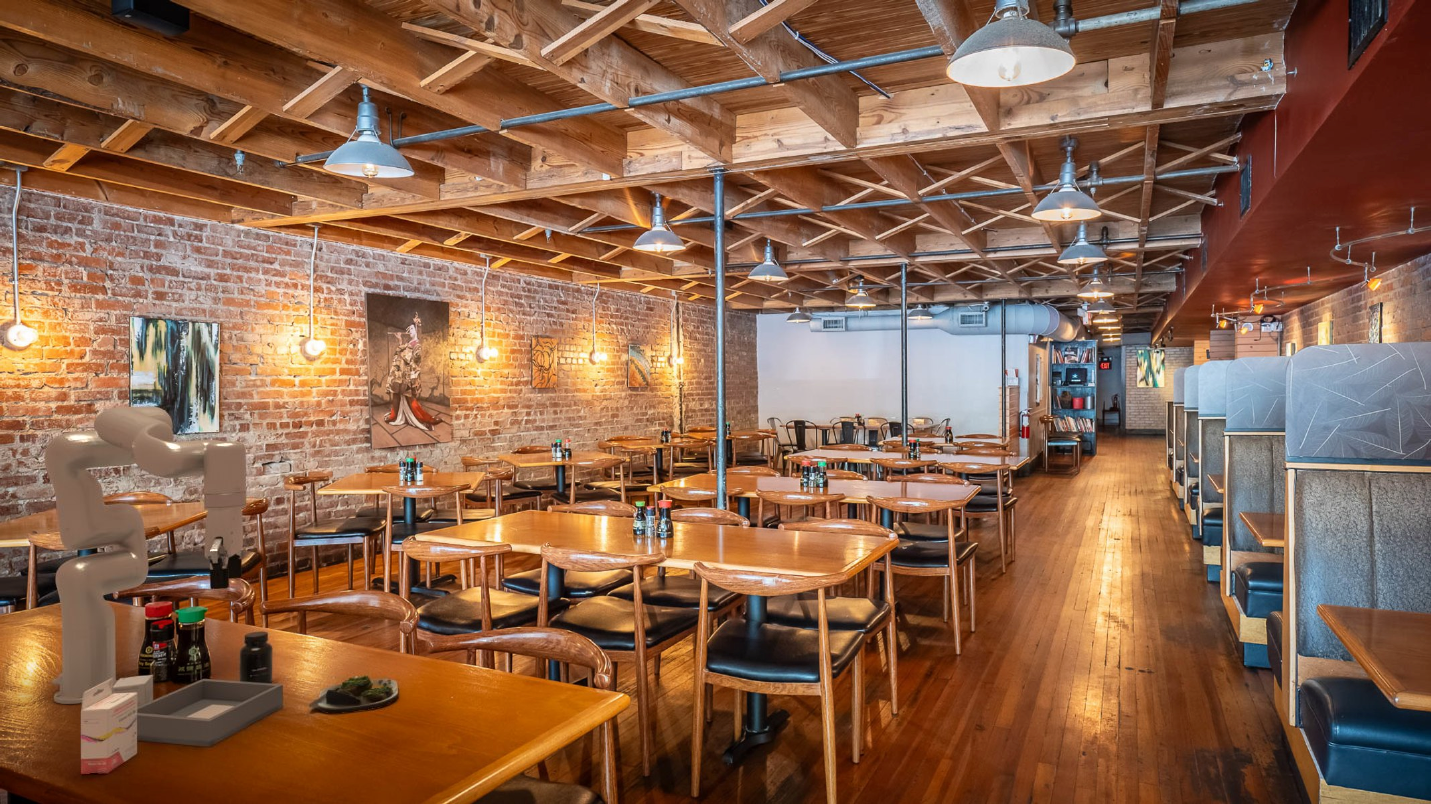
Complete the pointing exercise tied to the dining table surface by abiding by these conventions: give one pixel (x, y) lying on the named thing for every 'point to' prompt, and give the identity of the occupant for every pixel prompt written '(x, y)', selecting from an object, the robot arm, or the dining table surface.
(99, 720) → the ink cartridge box
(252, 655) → the supplement bottle
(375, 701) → the salad plate
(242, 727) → the walled box
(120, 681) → the product box
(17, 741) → the dining table surface
